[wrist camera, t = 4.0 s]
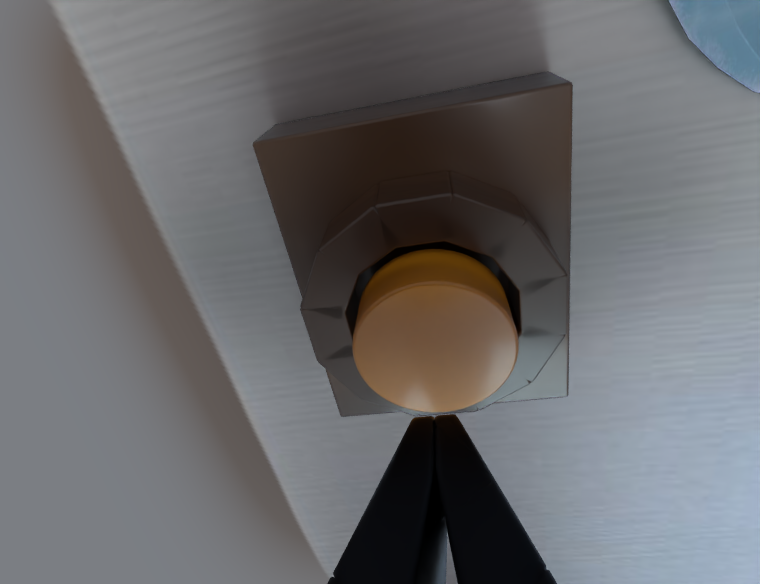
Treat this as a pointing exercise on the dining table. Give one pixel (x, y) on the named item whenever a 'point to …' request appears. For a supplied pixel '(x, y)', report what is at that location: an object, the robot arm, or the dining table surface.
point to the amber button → (434, 332)
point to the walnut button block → (432, 216)
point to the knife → (725, 35)
